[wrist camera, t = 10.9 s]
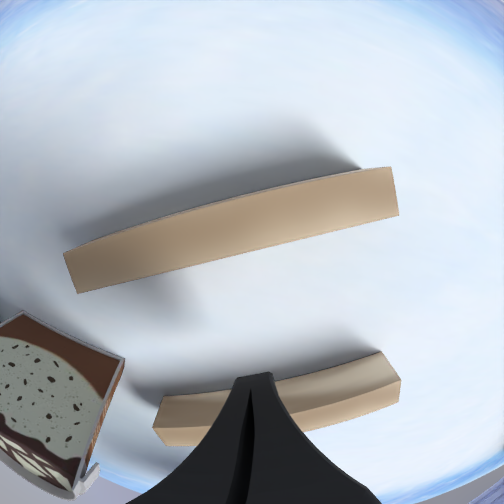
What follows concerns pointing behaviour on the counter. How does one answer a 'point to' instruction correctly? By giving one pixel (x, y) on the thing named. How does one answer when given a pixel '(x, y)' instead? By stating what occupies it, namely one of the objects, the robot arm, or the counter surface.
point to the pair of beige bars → (242, 241)
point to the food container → (52, 404)
